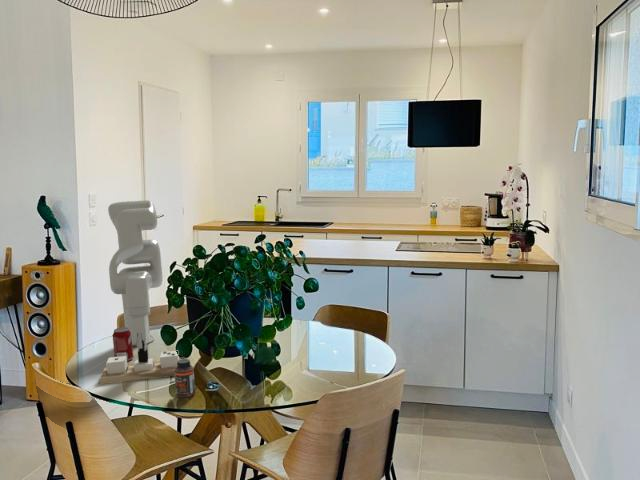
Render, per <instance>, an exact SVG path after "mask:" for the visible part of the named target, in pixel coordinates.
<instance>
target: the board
mask: <svg viewBox="0 0 640 480" xmlns="http://www.w3.org/2000/svg"><path fill="white" fill-rule="evenodd" d="M180 358H181V357H179V360H180ZM134 364H135V362H129V363H127V369H126V372H123V373H114V374H107V365H105V366H104V368H103V371H102V373H101V375H100V377H99V384H100V385H104V384H112V383H121V382H131V381H139V380H140V381H141V380H146V379H147V380H148V379H157V378H165V376H167V377H173V376H174V377H175V368H176V367H169V368H161V363H160V359H158V360H153V365H154V368H153V370H145V371H136V372H134Z"/></svg>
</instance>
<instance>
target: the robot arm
mask: <svg viewBox="0 0 640 480" xmlns="http://www.w3.org/2000/svg"><path fill="white" fill-rule="evenodd" d="M107 208H108V209H107V211H108V216H109V219H110V220H111V223H112V225H113V226H114V228H115V230H116V233H117V242H118V243H117V244H118V249H117V250H116V251H115V253H114V254H113V255H112V257H111V259H110V262H109V267H108V273H109V274H108V275H109V286H110V290H111V292H112V293H113V294H116V295H121V300H122V309H123V317H124V320H123V321H124V327H127V328H129V331H130V332H131V336H132V347H137V360H138V361H139V362H147V361H148V359H149V352H148V349H147V348H148V346H147V345H148V344H150V343H152V342H154V341H155V337H154V335H151V334H150V324H149V315H151V309H150V308H151V307H150V306H151V305H150V304H151V303H150V295H149V290H150V289H155V288H160V287H161V286H162V284H163V268H162V257H161V256H162V255H161V249H160V246H159V243H158V241H157V240H155V239H143V232H142V231H150V230H155V229H156V228H157V225H158V215H157V211H156V207H155V204H154V203H153V202H152V200H147V199H146V200H134V201H133V200H132V201H129V200H128V201H118V202H114V203H111V204H110V205H109V206H108V207H107ZM120 264H124V265H138V266H129V267H125V268H123V269H120V271H119V272H118V267H119V265H120ZM139 264H140V265H139ZM141 264H149V265H141Z"/></svg>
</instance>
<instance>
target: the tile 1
mask: <svg viewBox="0 0 640 480" xmlns="http://www.w3.org/2000/svg"><path fill="white" fill-rule="evenodd" d="M105 364H106V365H105V366H107V374H117V373H127V372H126V369H127V364H128V361H127V357H126V356H120V357H115V356H114V357H108V358H107V361H106V363H105Z"/></svg>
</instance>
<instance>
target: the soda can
mask: <svg viewBox="0 0 640 480" xmlns="http://www.w3.org/2000/svg"><path fill="white" fill-rule="evenodd" d="M112 344H113V352H114V353H113V354H114V357H120V356H126V357H127V362H129V361H131V360H132V359H133V358H134V349H133V347H134V346H132V336H131V332H130V331H129V328H127V327H125V326H124V327H123V326H122V327H117V328H114V330H113V334H112Z"/></svg>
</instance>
